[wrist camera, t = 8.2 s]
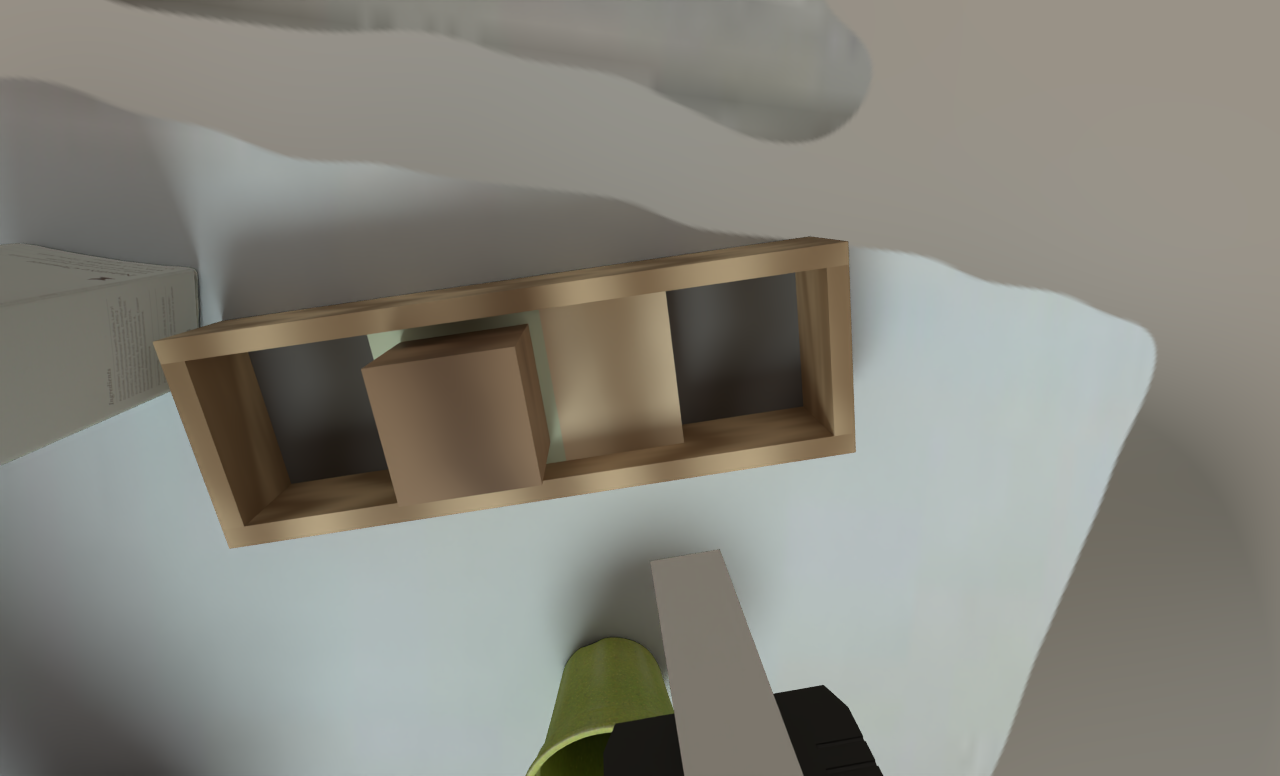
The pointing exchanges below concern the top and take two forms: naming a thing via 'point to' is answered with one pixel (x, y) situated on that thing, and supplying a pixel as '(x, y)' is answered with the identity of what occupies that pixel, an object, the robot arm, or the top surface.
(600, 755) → the plant pot
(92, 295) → the skincare box
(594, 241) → the top surface
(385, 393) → the walnut block
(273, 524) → the wooden cubby shelf
